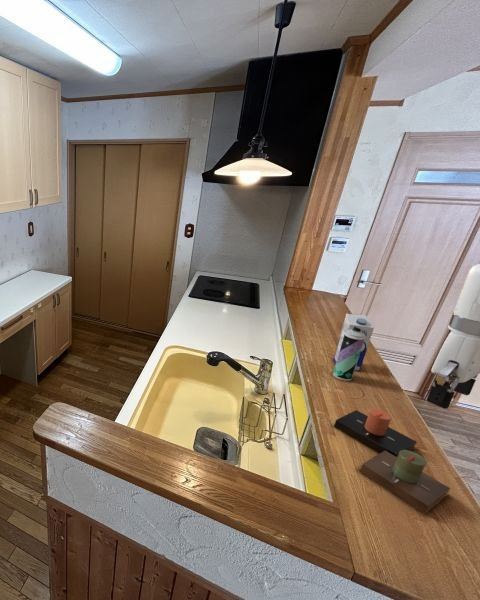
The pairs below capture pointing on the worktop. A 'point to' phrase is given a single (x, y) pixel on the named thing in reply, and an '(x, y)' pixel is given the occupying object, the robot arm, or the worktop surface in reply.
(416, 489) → the brown dial base plate
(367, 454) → the worktop surface
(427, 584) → the worktop surface
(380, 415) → the dial knob
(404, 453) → the green rotary knob near
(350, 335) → the spray can
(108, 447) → the worktop surface
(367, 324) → the milk carton
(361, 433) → the black dial base plate
